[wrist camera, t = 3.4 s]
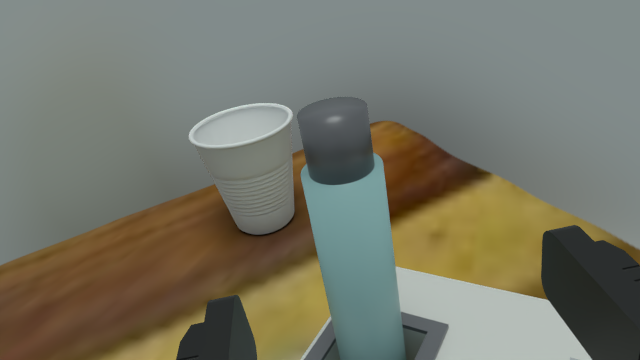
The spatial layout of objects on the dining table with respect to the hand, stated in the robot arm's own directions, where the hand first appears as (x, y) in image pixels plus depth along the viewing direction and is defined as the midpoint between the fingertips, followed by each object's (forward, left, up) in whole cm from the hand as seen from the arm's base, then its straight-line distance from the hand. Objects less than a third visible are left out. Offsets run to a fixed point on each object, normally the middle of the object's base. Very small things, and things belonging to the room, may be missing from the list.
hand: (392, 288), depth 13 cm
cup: (+23, +26, -18) cm, 39 cm away
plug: (+9, +7, -18) cm, 21 cm away
